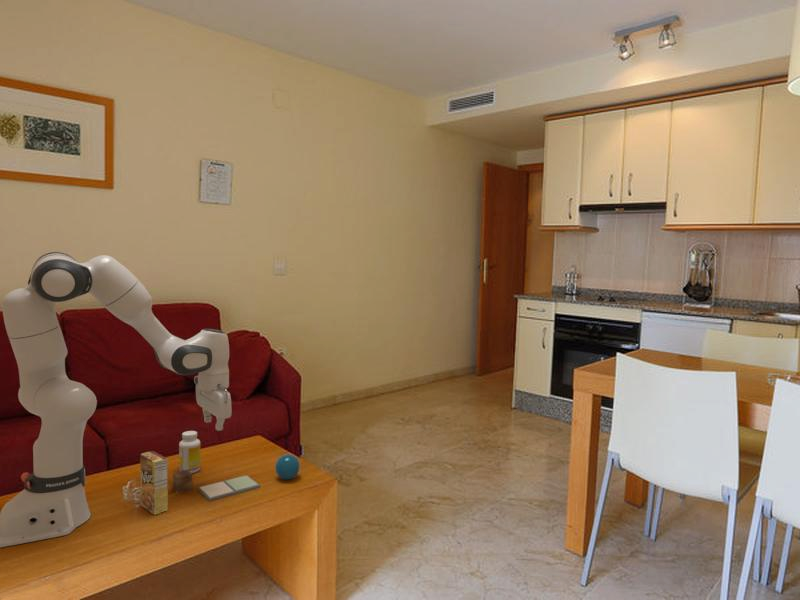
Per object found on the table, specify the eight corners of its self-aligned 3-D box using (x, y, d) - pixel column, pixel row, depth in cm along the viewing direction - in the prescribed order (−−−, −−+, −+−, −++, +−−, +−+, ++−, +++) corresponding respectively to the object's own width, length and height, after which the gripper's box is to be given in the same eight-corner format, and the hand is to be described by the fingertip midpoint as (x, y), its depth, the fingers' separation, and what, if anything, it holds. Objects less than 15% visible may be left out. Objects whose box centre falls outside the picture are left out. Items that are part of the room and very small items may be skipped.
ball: (271, 477, 176) (271, 453, 175) (293, 471, 181) (293, 448, 180) (281, 485, 170) (281, 461, 169) (304, 480, 174) (304, 456, 174)
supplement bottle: (204, 467, 183) (204, 430, 182) (194, 475, 176) (194, 436, 175) (185, 465, 183) (185, 429, 182) (175, 473, 177) (175, 435, 176)
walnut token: (177, 493, 162) (177, 477, 162) (173, 488, 166) (172, 472, 165) (192, 489, 165) (192, 474, 165) (187, 484, 169) (187, 469, 168)
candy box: (139, 505, 154) (139, 453, 153) (154, 500, 157) (153, 450, 156) (154, 515, 148) (153, 462, 147) (169, 510, 152) (168, 457, 150)
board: (209, 501, 158) (209, 498, 158) (197, 489, 166) (197, 486, 165) (260, 487, 168) (260, 484, 168) (246, 476, 176) (246, 474, 176)
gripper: (237, 387, 158) (236, 433, 159) (212, 374, 173) (211, 416, 174) (216, 389, 154) (215, 437, 155) (192, 376, 169) (191, 419, 170)
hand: (213, 425), depth 165 cm, fingers open, 8 cm apart
